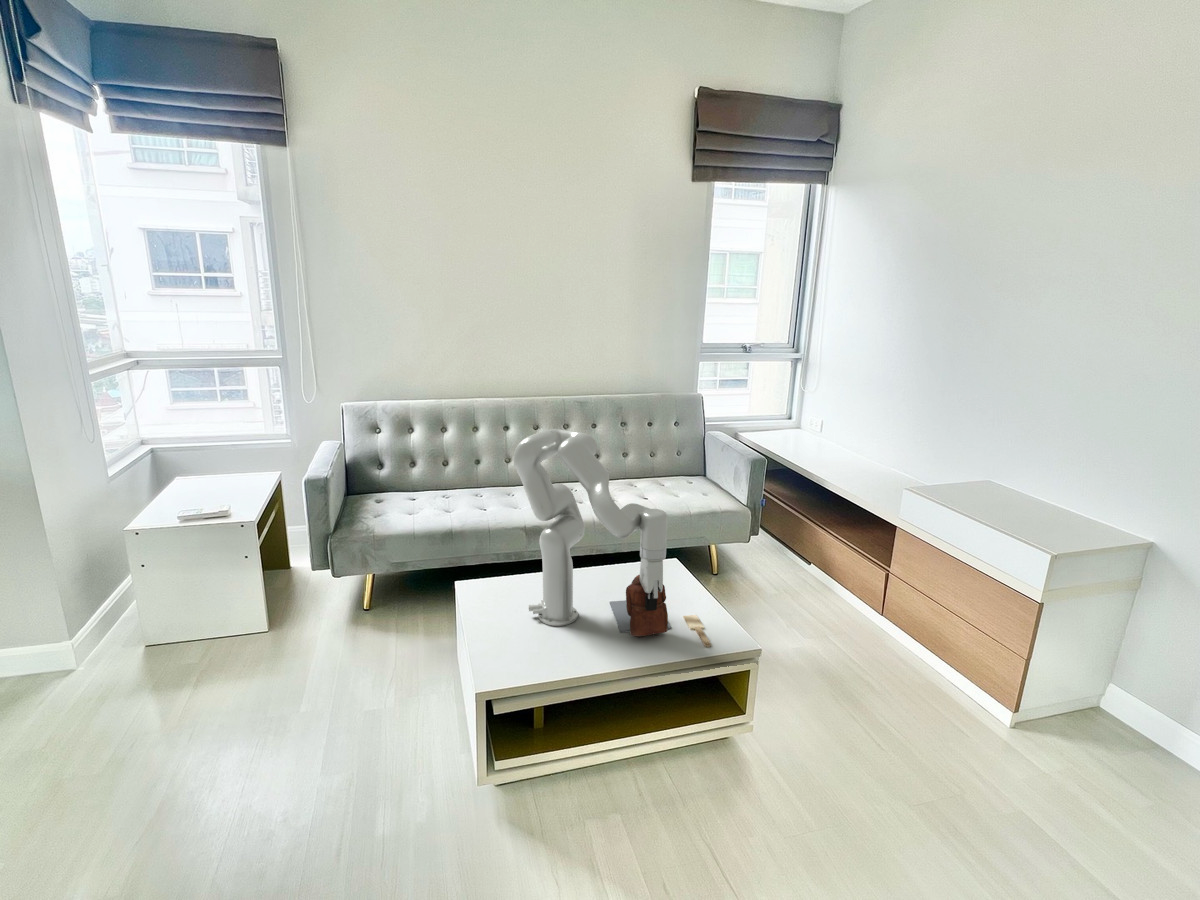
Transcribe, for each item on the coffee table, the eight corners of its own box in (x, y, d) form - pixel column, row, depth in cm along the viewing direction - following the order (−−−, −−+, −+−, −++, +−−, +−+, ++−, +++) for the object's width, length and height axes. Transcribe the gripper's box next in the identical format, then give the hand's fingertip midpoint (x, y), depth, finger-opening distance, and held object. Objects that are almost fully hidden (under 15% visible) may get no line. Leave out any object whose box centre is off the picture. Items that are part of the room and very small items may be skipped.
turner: (715, 646, 182) (715, 643, 182) (700, 647, 182) (700, 644, 181) (696, 616, 200) (696, 613, 199) (683, 617, 199) (683, 614, 199)
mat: (620, 632, 189) (620, 630, 189) (609, 603, 207) (609, 601, 207) (671, 628, 192) (671, 627, 192) (655, 600, 210) (656, 598, 210)
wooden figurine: (661, 628, 192) (656, 570, 193) (670, 632, 186) (665, 572, 187) (626, 634, 188) (621, 574, 189) (634, 638, 182) (629, 577, 183)
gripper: (634, 542, 185) (633, 598, 190) (646, 562, 171) (644, 622, 175) (659, 541, 187) (657, 596, 191) (672, 561, 172) (669, 621, 177)
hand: (650, 609), depth 183 cm, fingers closed
